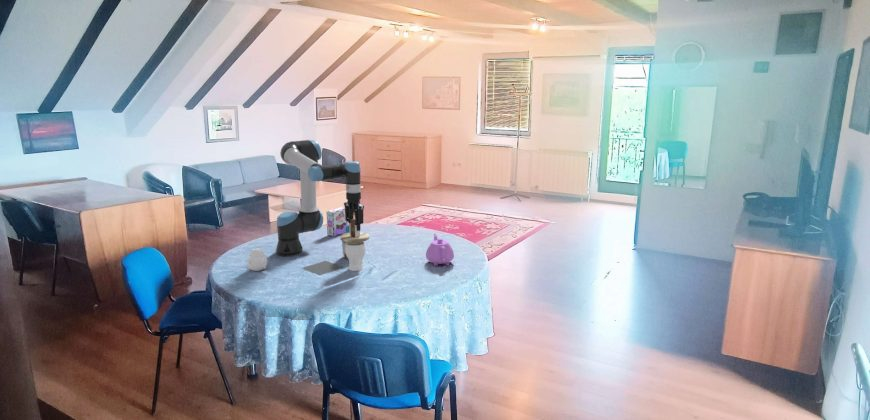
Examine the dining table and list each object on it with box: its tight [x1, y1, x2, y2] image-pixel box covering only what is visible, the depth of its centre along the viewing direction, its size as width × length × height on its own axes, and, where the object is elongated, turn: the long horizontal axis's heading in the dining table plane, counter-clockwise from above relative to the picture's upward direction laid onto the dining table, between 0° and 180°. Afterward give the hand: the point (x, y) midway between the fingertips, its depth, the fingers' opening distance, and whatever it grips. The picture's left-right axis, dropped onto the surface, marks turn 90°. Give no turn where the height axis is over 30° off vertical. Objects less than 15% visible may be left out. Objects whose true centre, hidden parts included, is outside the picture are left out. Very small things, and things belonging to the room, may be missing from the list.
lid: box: [339, 218, 370, 243], centre depth 278 cm, size 15×15×10 cm
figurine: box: [246, 246, 268, 272], centre depth 282 cm, size 10×10×12 cm
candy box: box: [326, 207, 349, 237], centre depth 349 cm, size 14×6×16 cm, turn 147°
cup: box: [345, 241, 366, 272], centre depth 282 cm, size 11×11×15 cm
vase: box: [341, 224, 350, 260], centre depth 300 cm, size 11×11×19 cm
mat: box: [301, 260, 345, 276], centre depth 284 cm, size 16×16×1 cm
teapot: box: [425, 233, 455, 267], centre depth 295 cm, size 22×16×14 cm
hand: (354, 235), depth 279 cm, fingers closed on lid, 4 cm apart
